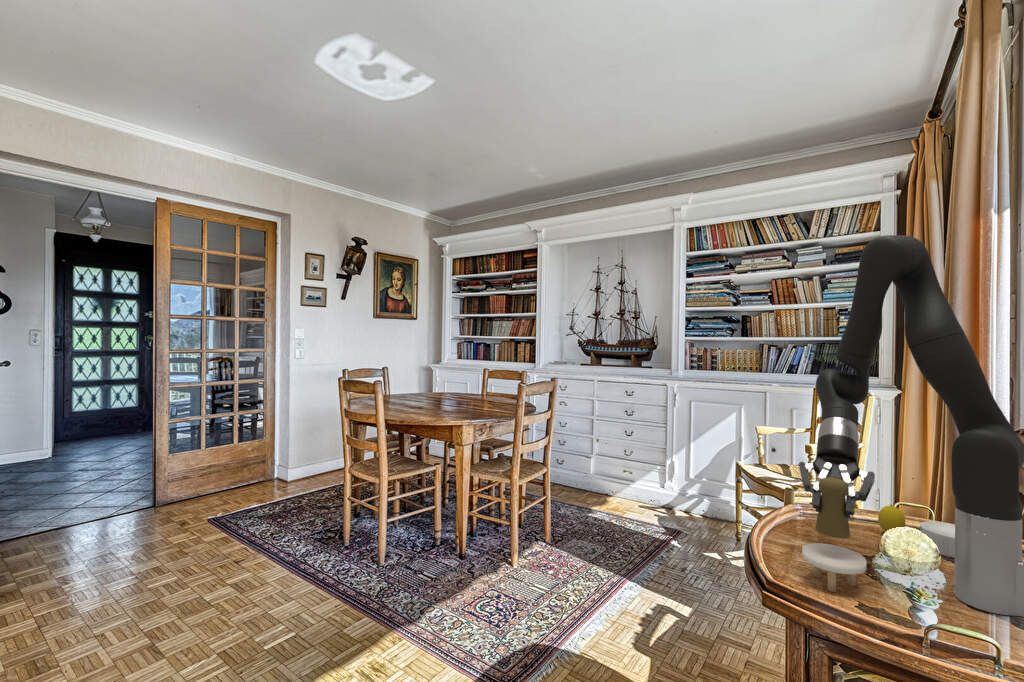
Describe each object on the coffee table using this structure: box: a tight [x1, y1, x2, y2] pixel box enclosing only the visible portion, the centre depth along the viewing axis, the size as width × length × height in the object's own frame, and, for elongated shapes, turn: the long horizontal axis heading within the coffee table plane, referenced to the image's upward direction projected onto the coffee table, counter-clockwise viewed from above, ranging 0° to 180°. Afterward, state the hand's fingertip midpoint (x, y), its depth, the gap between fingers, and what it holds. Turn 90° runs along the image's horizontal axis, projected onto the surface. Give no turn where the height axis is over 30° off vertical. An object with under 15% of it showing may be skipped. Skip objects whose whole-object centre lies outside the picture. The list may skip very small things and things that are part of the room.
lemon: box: [877, 504, 907, 532], centre depth 126 cm, size 6×6×8 cm
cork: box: [814, 477, 851, 539], centre depth 101 cm, size 6×6×11 cm
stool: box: [801, 542, 867, 593], centre depth 101 cm, size 11×11×6 cm
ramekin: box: [919, 520, 955, 559], centre depth 118 cm, size 11×11×5 cm
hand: (832, 512), depth 100 cm, fingers closed on cork, 4 cm apart
